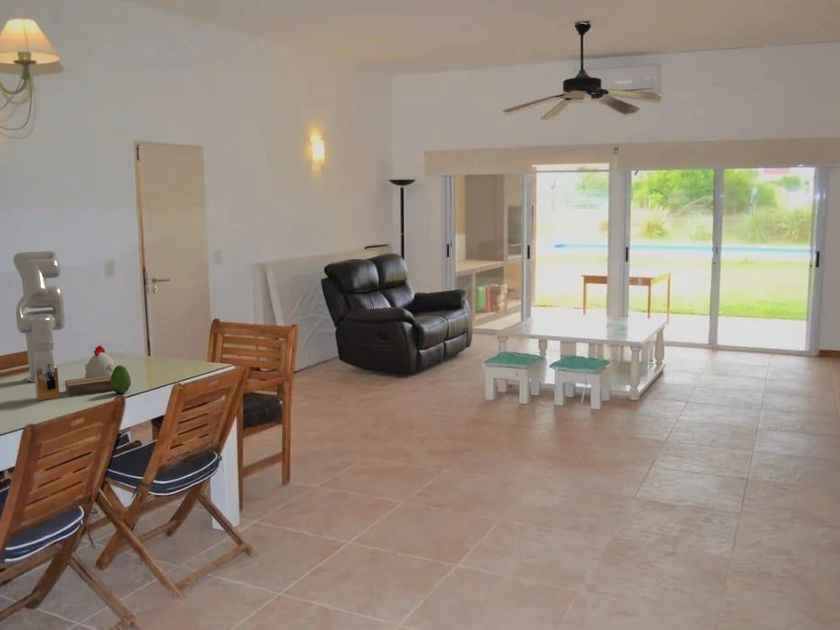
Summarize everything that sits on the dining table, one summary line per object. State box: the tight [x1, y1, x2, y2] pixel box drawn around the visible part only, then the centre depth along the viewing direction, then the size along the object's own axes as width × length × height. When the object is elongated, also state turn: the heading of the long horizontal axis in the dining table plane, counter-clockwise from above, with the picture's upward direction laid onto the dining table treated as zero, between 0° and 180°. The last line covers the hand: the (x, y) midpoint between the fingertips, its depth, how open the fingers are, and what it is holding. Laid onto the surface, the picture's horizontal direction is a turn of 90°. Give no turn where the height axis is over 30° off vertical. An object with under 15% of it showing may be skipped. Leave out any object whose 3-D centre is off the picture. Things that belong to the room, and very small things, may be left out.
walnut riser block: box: [64, 375, 114, 397], centre depth 339 cm, size 12×18×5 cm, turn 120°
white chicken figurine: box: [84, 345, 117, 378], centre depth 363 cm, size 14×14×15 cm
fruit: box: [110, 365, 132, 394], centre depth 332 cm, size 8×8×12 cm
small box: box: [34, 364, 61, 401], centre depth 327 cm, size 8×6×13 cm
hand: (47, 387), depth 328 cm, fingers open, 9 cm apart
